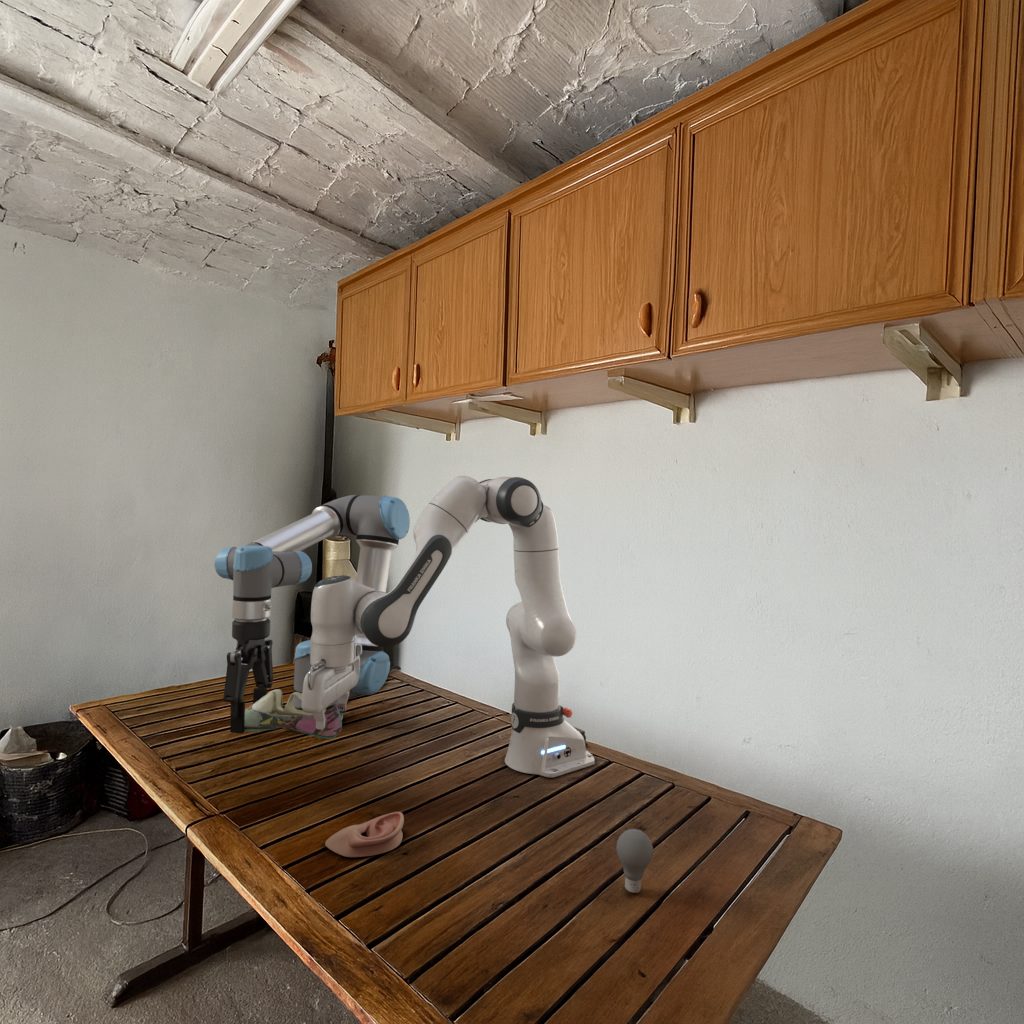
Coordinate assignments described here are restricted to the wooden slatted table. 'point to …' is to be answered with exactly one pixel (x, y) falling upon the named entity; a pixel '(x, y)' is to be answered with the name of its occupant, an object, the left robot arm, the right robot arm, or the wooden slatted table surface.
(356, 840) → the anatomical model
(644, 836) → the light bulb
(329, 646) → the right robot arm
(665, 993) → the wooden slatted table surface
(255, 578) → the left robot arm
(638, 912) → the wooden slatted table surface
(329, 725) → the ballet flat
